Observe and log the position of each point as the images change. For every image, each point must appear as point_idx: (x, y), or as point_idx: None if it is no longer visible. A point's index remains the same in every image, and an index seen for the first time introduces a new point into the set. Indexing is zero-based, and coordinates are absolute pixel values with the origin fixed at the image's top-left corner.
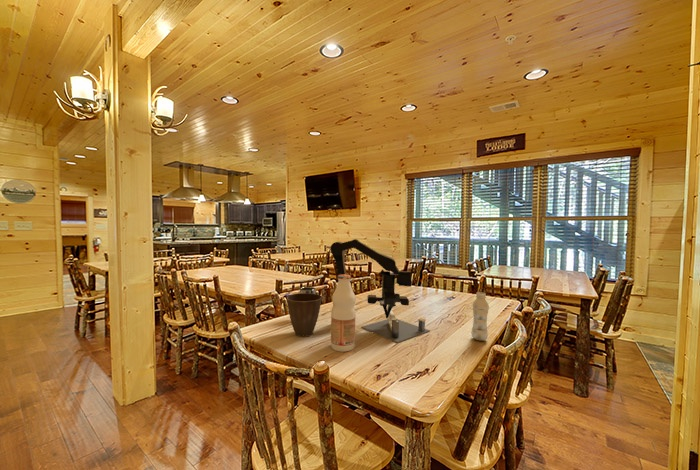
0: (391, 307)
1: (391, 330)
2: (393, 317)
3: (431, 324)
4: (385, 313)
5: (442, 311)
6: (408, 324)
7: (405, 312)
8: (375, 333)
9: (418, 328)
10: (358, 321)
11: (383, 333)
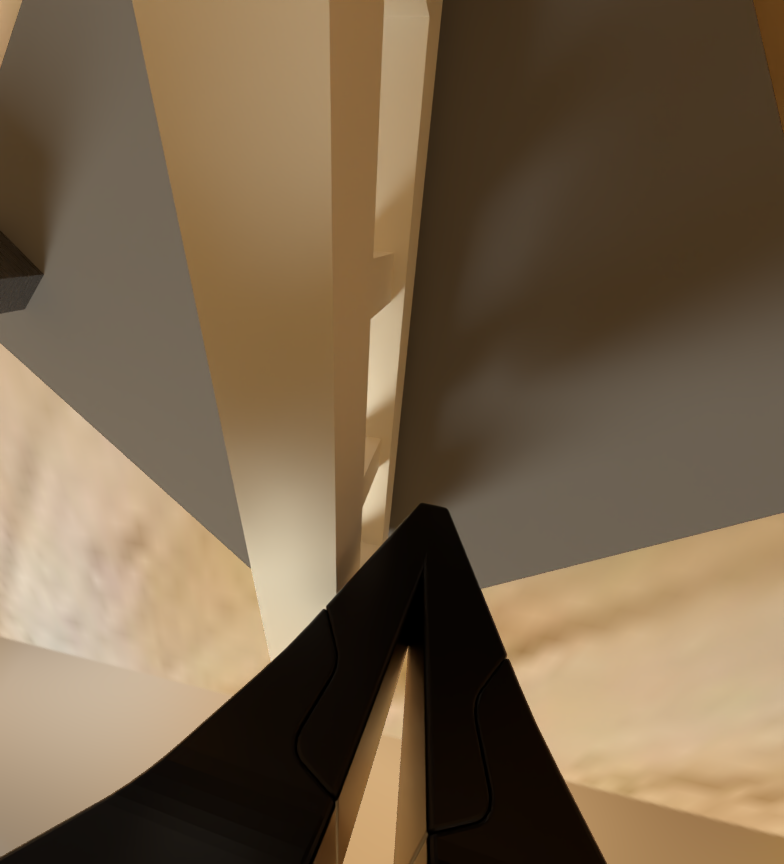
0: (126, 852)
1: (421, 191)
2: (249, 179)
3: (5, 465)
4: (476, 602)
5: (19, 636)
6: (180, 473)
7: (225, 677)
8: (777, 160)
9: (8, 275)
10: (722, 645)
11: (617, 106)
